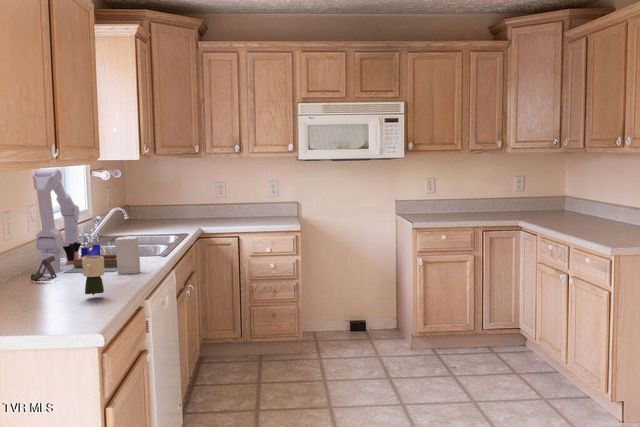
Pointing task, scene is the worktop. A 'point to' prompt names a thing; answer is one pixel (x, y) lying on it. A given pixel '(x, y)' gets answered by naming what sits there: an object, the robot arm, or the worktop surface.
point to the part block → (74, 258)
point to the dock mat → (80, 270)
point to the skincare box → (127, 255)
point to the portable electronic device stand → (47, 264)
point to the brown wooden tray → (108, 261)
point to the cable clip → (94, 251)
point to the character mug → (93, 274)
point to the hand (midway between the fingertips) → (72, 259)
